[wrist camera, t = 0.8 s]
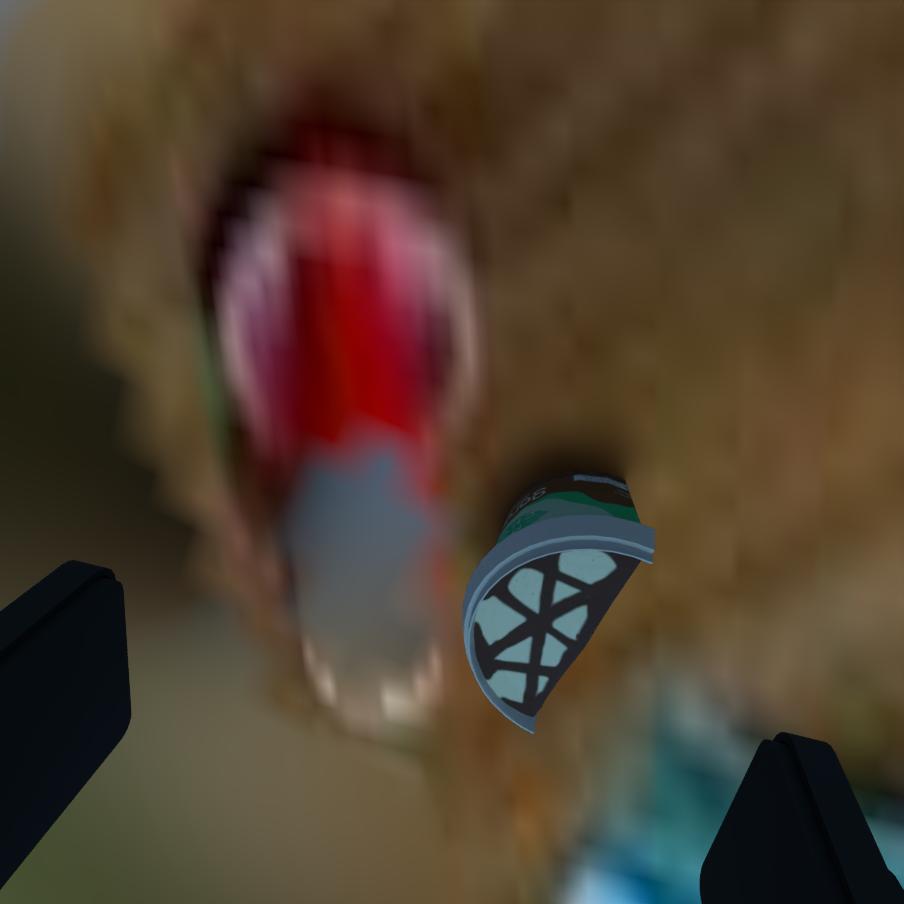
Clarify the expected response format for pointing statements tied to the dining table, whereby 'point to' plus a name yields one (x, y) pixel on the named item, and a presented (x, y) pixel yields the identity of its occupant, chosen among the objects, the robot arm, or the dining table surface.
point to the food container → (549, 585)
